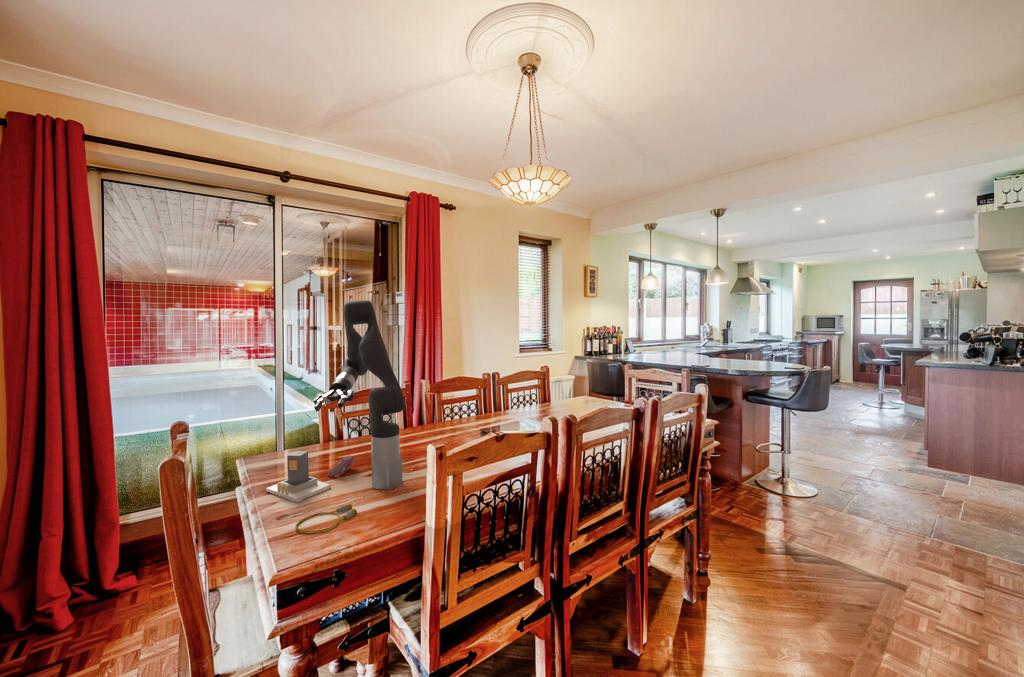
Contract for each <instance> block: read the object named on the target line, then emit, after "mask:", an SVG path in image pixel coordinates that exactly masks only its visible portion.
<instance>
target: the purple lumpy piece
mask: <svg viewBox="0 0 1024 677" xmlns="http://www.w3.org/2000/svg"><path fill="white" fill-rule="evenodd" d="M355 461H356V457H354V456H351V455H348V456H345V457H342V458H341V459H340V460H339V461H338V462H337V463H336V464H335V465H334V466H333V467H332V468H330V469H329V470H328V473H327V476H328V477H329V478H332V477H335V476H337V475H339V476H340V475H342V474H344V473H345V472H348V471H349V470H350V469H351V466H353V464H355ZM347 470H348V471H347Z"/></svg>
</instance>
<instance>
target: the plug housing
mask: <svg viewBox="0 0 1024 677" xmlns="http://www.w3.org/2000/svg"><path fill="white" fill-rule="evenodd" d="M286 456H287V457H286V459H287V461H286V462H287V479H288V484H291V485H295V486H296V485H299V484H301V483H304V482H307V481H309V476H310V474H309V473H310V472H309V471H310V470H309V468H310V464H309V451H307V450H295V451H293V452H291V453H289V454H287V455H286Z"/></svg>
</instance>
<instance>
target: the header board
mask: <svg viewBox="0 0 1024 677" xmlns="http://www.w3.org/2000/svg"><path fill="white" fill-rule="evenodd" d="M331 487H332V485H331V484H330V483H327V482H324V481H320V480H318V478H317V477H314V476H310V475H309V481H307V482H304V483H301V484H299V485H296V486H295V485H291V484H288V478H287V479H285V480H283V481H282V480H281V481H280V482H278V483H276V484H274V485H271V486H268V487H266V488H265V492H266V491H267V492H266V493H268V492H270V493H269V494H271V493H272V495H274V494H275V495H274V496H277V495H278V496H277V497H280V496H282V497H281V498H283V497H285V498H284V499H286V498H288V499H287V500H289V499H290V500H289V501H291V500H293V501H292V502H294V501H296V502H295V503H298V501H299V502H301V501H303V500H302V499H304V500H306V499H308V498H310V496H311V497H313V496H315V495H318V494H320V493H322V491H323V492H325V491H327V490H329V488H330V489H331ZM317 493H318V494H317ZM314 494H315V495H314ZM312 495H313V496H312ZM307 497H308V498H307ZM305 498H306V499H305ZM300 500H301V501H300Z"/></svg>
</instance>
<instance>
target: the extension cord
mask: <svg viewBox="0 0 1024 677" xmlns="http://www.w3.org/2000/svg"><path fill="white" fill-rule="evenodd" d="M352 508H353V504H352V503H348V504H347V503H346V504H343V505H341V506H339V507H337V508H336V510H333V511H330V512H317V513H314V514H310V515H308V516H306V517H304V518H302V519H301V520H299V521H298V522H297V523H296V524H295V527H294V528H295V529H296V532H298V533H299V534H304V535H305V534H307V535H311V534H312V535H313V534H320V533H322V534H323V533H325V532H326V533H327V532H328V531H331V530H334V529H335V528H337V526H339V525H340V523H341V522H343V521H346V520H348V519H350V518H353V517H354V516H355V515H356V514H358V510H357V509H355V508H353V509H352ZM348 510H349V511H348ZM343 512H346V513H345V515H344V516H342V518H341V516H340V514H338V513H343ZM321 515H336V516H337V517H338V521H337V522H336V523H334V524H333V525H331V526H329V527H326V528H324V529H316V530H305V529H300V528H299V526H300V525H301V523H303V522H305V521H306V520H309V519H311V518H314V517H317V516H321Z"/></svg>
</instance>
